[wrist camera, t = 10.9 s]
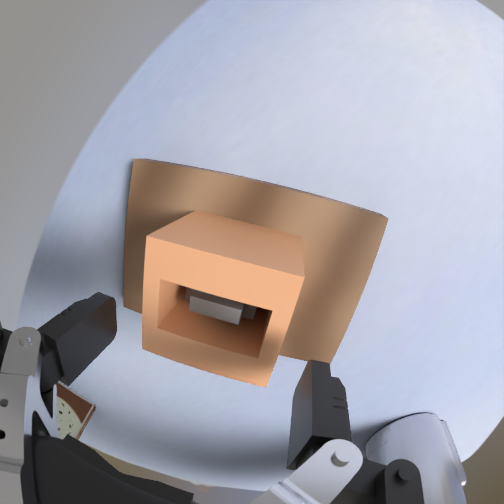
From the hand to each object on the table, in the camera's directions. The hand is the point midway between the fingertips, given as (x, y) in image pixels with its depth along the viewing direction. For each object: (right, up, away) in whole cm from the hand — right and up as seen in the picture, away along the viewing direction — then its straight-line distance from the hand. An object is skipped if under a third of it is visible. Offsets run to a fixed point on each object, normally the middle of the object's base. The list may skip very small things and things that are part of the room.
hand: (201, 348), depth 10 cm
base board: (+1, +3, +8) cm, 9 cm away
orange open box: (+1, +3, +7) cm, 8 cm away
